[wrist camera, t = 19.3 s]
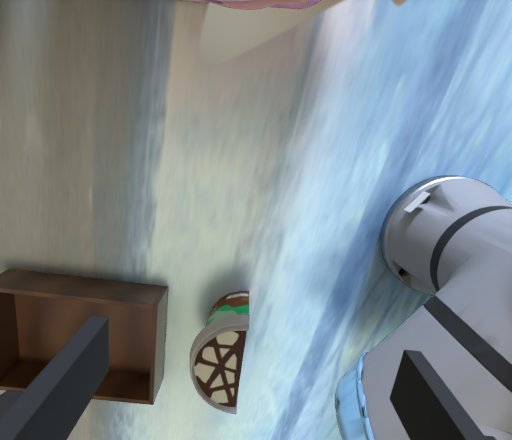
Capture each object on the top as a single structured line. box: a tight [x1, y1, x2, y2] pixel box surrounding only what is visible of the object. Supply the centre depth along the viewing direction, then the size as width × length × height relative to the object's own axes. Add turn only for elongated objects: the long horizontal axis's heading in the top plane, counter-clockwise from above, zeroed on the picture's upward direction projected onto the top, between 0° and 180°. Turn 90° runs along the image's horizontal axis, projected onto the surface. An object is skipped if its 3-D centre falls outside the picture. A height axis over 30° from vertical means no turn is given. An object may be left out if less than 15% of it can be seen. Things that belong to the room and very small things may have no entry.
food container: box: [190, 291, 249, 414], centre depth 39 cm, size 12×6×10 cm, turn 172°
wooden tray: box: [0, 269, 168, 405], centre depth 42 cm, size 21×15×5 cm
